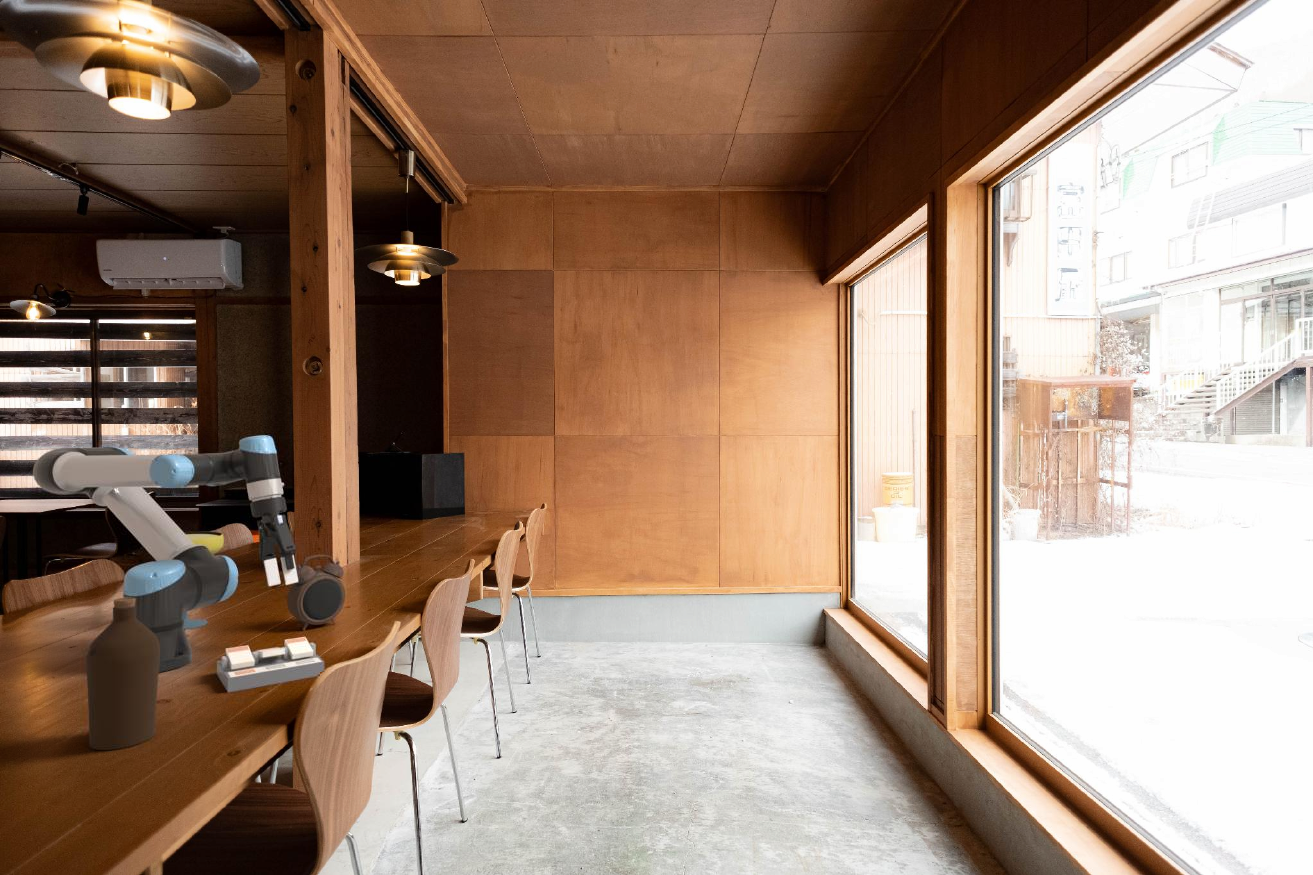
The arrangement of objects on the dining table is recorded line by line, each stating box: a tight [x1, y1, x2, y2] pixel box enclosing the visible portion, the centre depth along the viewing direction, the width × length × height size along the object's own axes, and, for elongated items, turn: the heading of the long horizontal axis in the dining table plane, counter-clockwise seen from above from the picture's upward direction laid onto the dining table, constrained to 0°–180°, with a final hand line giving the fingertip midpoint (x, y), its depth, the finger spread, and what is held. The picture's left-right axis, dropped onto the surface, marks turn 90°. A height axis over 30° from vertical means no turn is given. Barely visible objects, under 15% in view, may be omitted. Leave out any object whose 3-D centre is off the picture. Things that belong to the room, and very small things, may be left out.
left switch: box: [225, 645, 255, 670], centre depth 161 cm, size 4×8×1 cm, turn 39°
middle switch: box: [255, 647, 285, 657], centre depth 165 cm, size 4×8×1 cm, turn 39°
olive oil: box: [85, 597, 160, 751], centre depth 129 cm, size 11×11×25 cm
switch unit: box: [216, 642, 325, 693], centre depth 164 cm, size 19×14×5 cm
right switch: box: [284, 636, 313, 659], centre depth 169 cm, size 4×8×1 cm, turn 39°
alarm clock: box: [286, 554, 346, 631], centre depth 204 cm, size 15×7×20 cm, turn 143°
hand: (283, 584), depth 177 cm, fingers open, 13 cm apart
